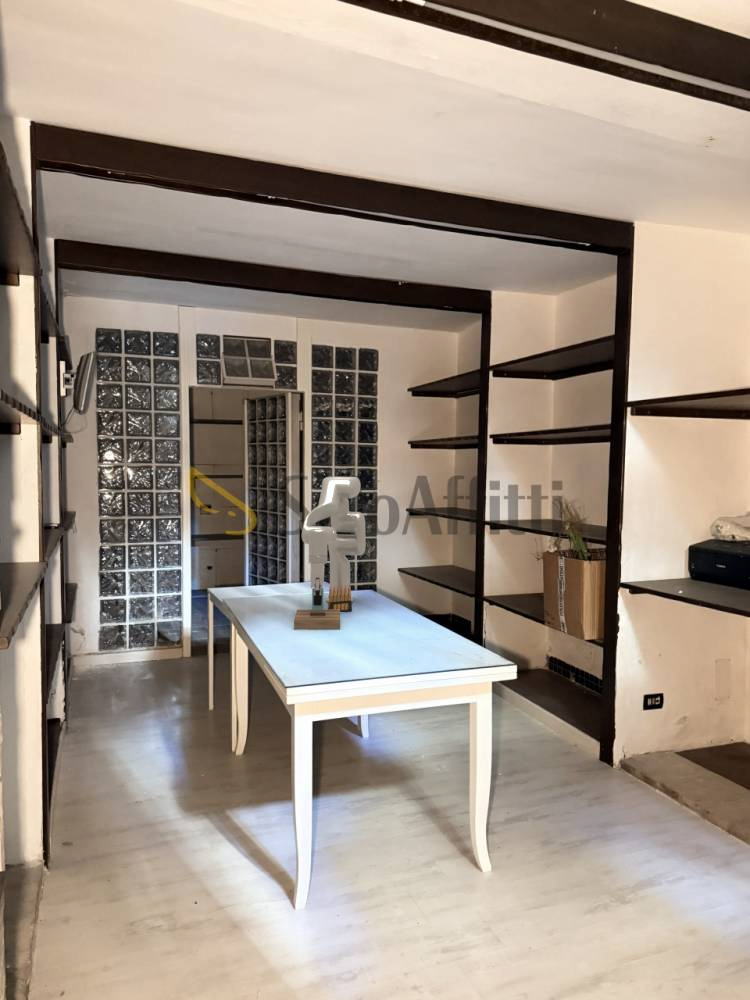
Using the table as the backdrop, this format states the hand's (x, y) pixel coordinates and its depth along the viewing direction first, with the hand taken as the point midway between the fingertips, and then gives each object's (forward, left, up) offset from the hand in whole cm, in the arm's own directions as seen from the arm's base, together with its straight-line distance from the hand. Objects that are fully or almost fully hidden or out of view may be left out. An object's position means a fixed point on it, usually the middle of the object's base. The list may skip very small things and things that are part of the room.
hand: (317, 603), depth 273 cm
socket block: (0, 0, -8) cm, 8 cm away
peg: (0, 0, -2) cm, 2 cm away
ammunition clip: (-21, +9, -9) cm, 24 cm away
